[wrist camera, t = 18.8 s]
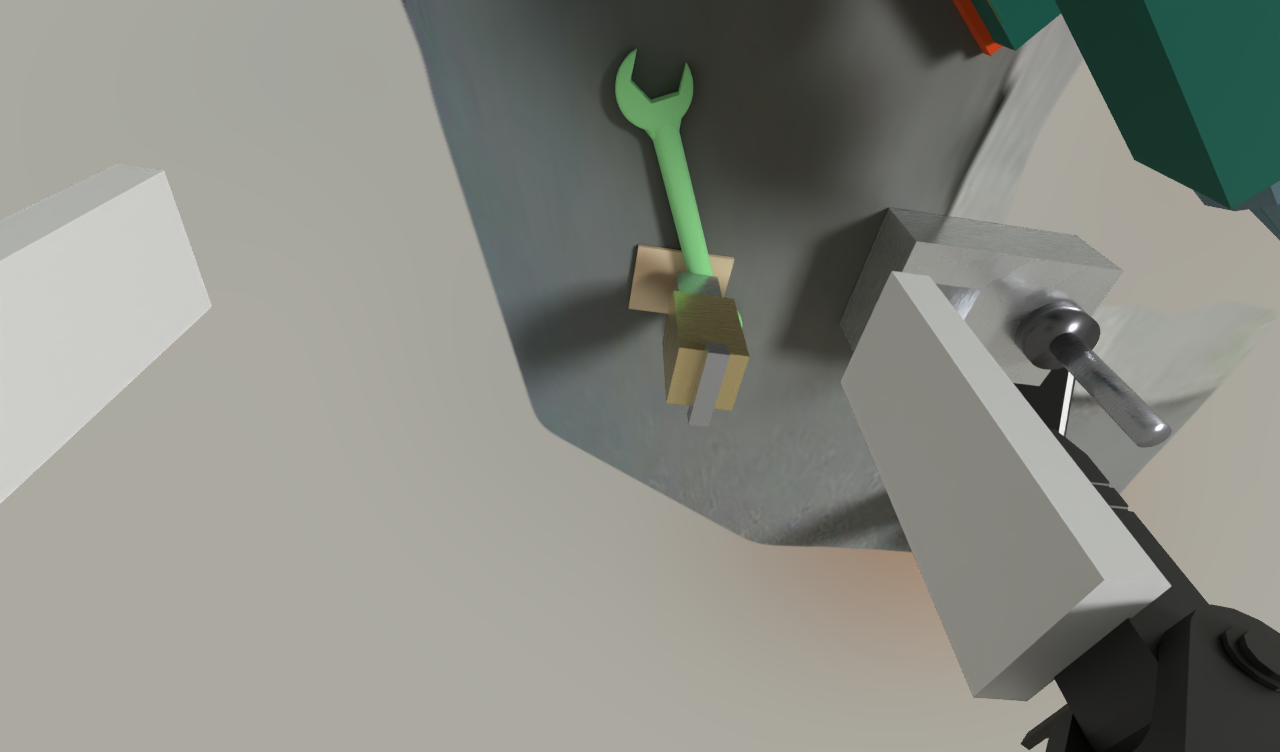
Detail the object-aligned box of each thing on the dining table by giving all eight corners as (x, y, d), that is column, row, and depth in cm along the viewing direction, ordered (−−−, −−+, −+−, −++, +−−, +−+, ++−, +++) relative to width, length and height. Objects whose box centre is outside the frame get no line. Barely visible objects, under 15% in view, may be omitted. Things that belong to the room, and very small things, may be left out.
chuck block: (888, 207, 46) (996, 338, 32) (1076, 235, 48) (1258, 372, 34) (839, 323, 53) (910, 473, 39) (1005, 344, 55) (1131, 497, 41)
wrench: (681, 31, 40) (606, 56, 40) (683, 35, 38) (604, 60, 39) (747, 337, 54) (689, 351, 54) (750, 349, 52) (691, 363, 53)
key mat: (638, 244, 48) (638, 246, 48) (733, 257, 49) (734, 259, 49) (628, 306, 52) (628, 308, 52) (717, 317, 53) (717, 320, 53)
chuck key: (672, 255, 47) (682, 349, 36) (728, 263, 47) (755, 358, 37) (659, 319, 50) (665, 422, 40) (711, 326, 51) (731, 429, 40)
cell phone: (1076, 334, 54) (1082, 340, 54) (1058, 443, 63) (1063, 449, 62) (987, 355, 56) (992, 361, 55) (981, 458, 65) (985, 465, 64)
